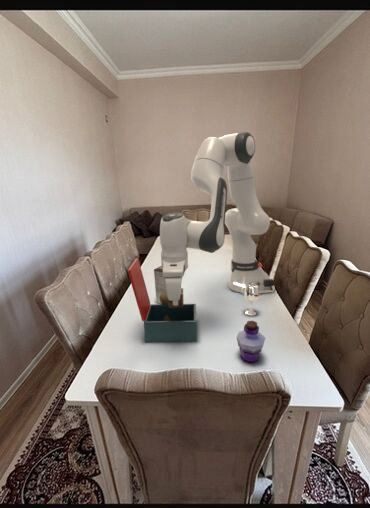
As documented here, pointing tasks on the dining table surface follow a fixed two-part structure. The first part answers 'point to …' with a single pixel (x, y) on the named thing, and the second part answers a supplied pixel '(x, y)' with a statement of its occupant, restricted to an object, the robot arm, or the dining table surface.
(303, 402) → the dining table surface
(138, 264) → the lid
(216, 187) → the robot arm
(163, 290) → the coffee box
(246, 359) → the potion bottle
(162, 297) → the pepper shaker
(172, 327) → the lunchbox
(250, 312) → the wineglass
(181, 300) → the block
